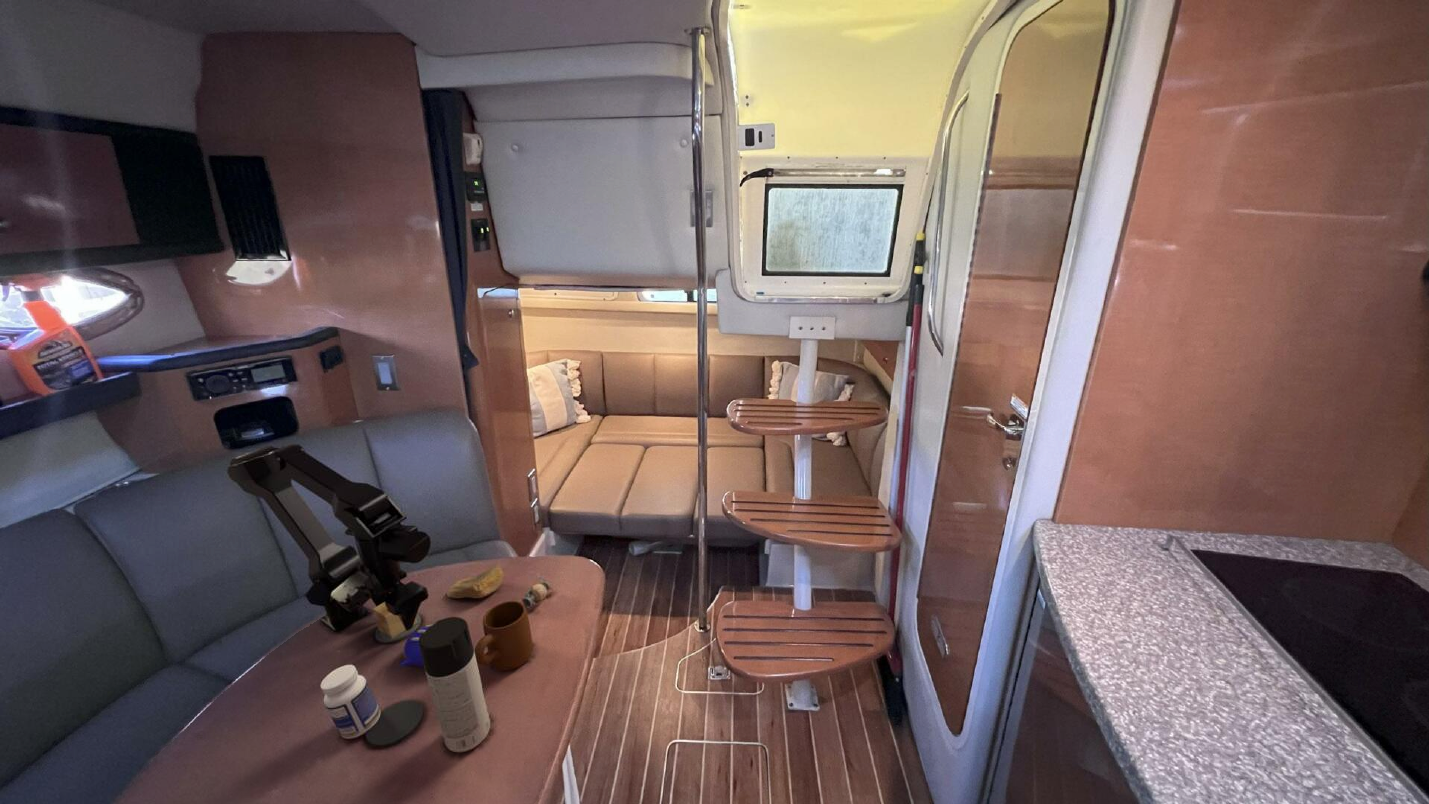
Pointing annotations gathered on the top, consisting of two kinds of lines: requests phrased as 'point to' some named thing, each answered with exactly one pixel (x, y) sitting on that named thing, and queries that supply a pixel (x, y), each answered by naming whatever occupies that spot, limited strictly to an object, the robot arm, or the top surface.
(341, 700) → the pill bottle
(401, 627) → the block
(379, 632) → the coaster
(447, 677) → the spray can
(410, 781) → the top surface
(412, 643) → the decorative object
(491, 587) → the stone
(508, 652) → the mug
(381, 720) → the coaster
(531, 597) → the vase
